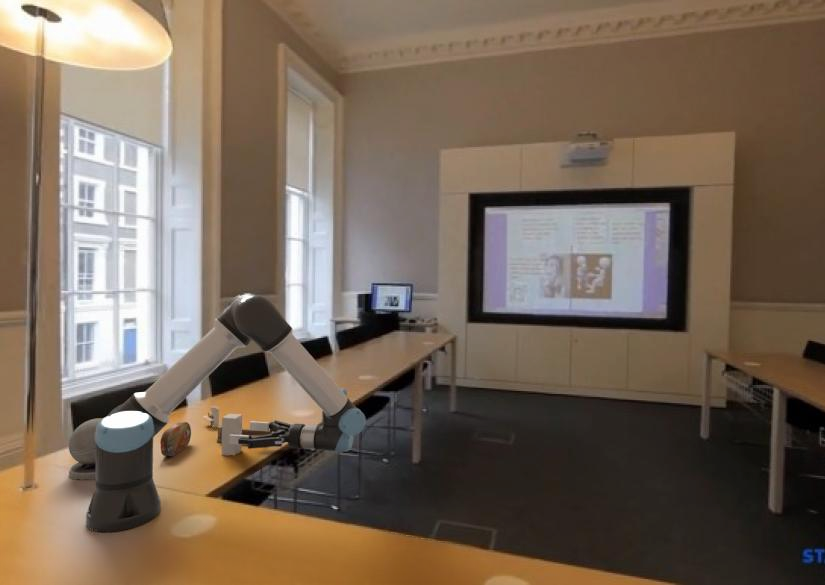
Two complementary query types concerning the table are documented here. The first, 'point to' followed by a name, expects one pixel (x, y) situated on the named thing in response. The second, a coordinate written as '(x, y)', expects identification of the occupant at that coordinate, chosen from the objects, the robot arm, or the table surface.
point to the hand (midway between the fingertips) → (240, 431)
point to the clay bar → (231, 426)
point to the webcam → (84, 450)
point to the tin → (175, 439)
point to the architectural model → (213, 417)
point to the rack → (244, 433)
